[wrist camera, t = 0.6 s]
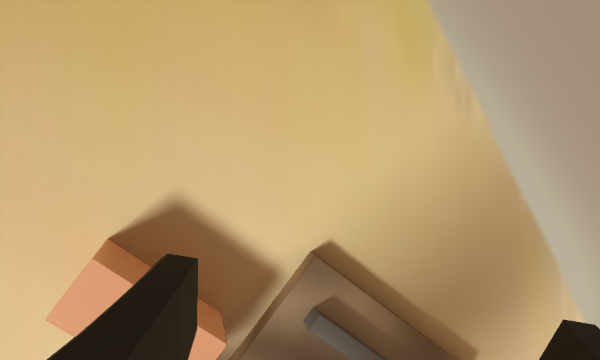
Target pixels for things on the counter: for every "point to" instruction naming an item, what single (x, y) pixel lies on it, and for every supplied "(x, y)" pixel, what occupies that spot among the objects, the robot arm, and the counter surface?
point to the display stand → (332, 323)
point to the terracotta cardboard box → (112, 285)
